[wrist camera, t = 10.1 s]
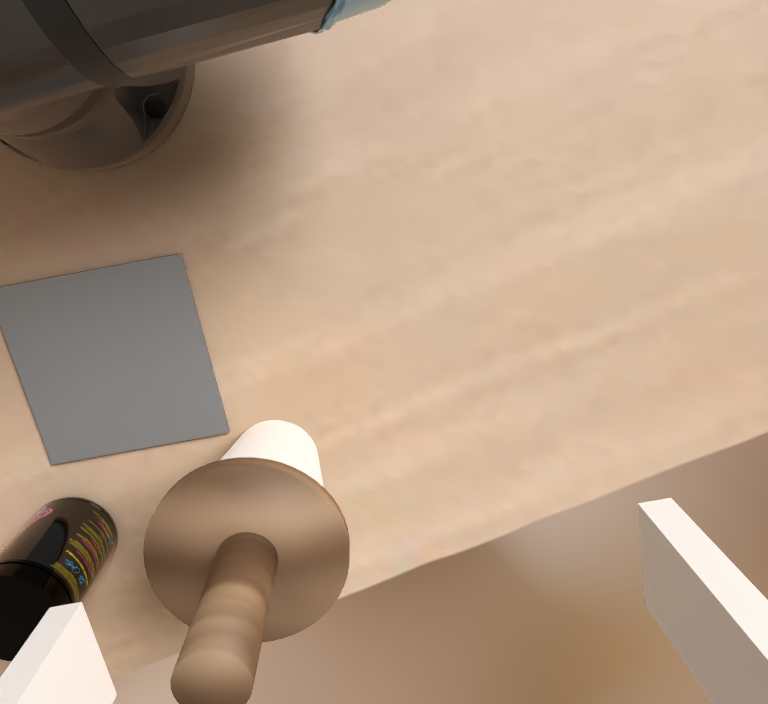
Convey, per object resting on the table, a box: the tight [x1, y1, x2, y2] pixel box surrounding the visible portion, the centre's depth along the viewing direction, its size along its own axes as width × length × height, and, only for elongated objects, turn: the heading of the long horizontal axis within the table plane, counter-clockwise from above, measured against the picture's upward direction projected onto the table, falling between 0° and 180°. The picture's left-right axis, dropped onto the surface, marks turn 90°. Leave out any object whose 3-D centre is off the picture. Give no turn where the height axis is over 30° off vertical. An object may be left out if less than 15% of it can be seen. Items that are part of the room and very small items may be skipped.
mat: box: [0, 253, 230, 465], centre depth 46 cm, size 14×14×1 cm
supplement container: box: [0, 497, 117, 661], centre depth 45 cm, size 7×7×10 cm
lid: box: [144, 457, 349, 704], centre depth 33 cm, size 12×12×10 cm
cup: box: [219, 420, 323, 486], centre depth 43 cm, size 9×9×12 cm
